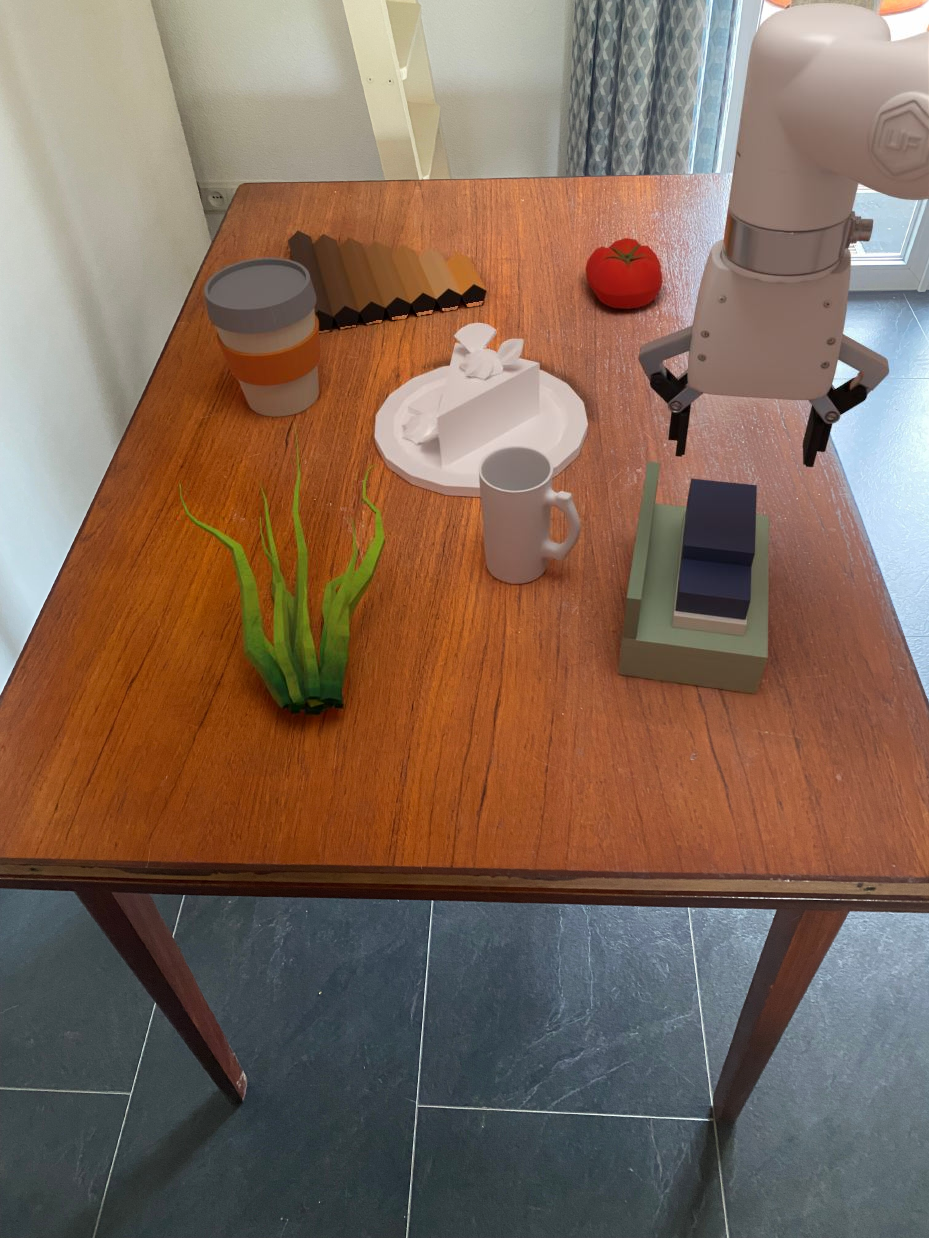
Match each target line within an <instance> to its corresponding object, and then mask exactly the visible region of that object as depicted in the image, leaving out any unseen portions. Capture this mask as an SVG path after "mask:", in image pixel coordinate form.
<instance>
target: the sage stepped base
mask: <svg viewBox="0 0 929 1238" xmlns="http://www.w3.org/2000/svg"><path fill="white" fill-rule="evenodd" d="M660 468H661V462H656V461H647V462H646V468H645V473H644V474H645V476H644V480H643V481H644V482H643V488H642V493H641V494H642V495H641V502H640V508H639V514H638V519H637V520H638V521H637V527H636V534H635V540H634V547H633V553H632V558H631V560H632V561H631V567H630V573H629V578H628V585H627V592H626V598H625V608H624V618H623V625H622V634H621V642H620V651H619V662H618V671H617V675H620V676H626V677H633V678H641V679H648V680H655V681H661V682H669V683H676V684H682V685H689V686H698V687H704V688H710V689H718V690H724V691H732V692H739V693H747V694H752V695H757V694H758V691H759V688H760V684H761V681H762V678H763V674H764V671H765V668H766V665H767V661H768V658H769V580H770V579H769V577H770V576H769V574H770V571H769V570H770V567H769V565H770V515H768V514H767V515H765V514H758V513H756V536H755V555H754V559H753V563H752V571H751V601H750V605H749V609H748V613H747V625H746V629H745V633H744V636H738V635H730V634H722V633H715V632H707V631H699V630H692V629H684V628H677V627H672V618H673V609H674V599H675V590H676V580H677V571H678V561H679V552H680V542H681V533H682V523H683V516H684V510H685V508H686V506H682V505H673V504H663V503H656V498H657V491H658V484H659V477H660Z"/></svg>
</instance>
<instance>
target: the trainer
mask: <svg viewBox="0 0 929 1238" xmlns="http://www.w3.org/2000/svg"><path fill="white" fill-rule="evenodd" d="M757 492H758V485H757V484H750V483H739V482H731V481H719V480H709V479H700V478H699V479H698V478H691V479H690V482H689V488H688V495H687V500H686V506H685V507H686V508H685V510H684V516H683V523H682V533H681V542H680V552H679V561H678V571H677V580H676V590H675V599H674V609H673V618H672V627H677V628H684V629H692V630H699V631H707V632H715V633H722V634H730V635H738V636H744V633H745V629H746V625H747V613H748V609H749V605H750V601H751V571H752V563H753V559H754V555H755V536H756V514H757V499H758V498H757V496H758V495H757Z"/></svg>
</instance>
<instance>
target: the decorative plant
mask: <svg viewBox="0 0 929 1238" xmlns="http://www.w3.org/2000/svg"><path fill="white" fill-rule="evenodd" d="M293 427H294V433H295V441H296V470H297V477H296V482H295V485H294V495H293V504H292V505H293V506H292V516H293V524H294V532H295V539H296V540H295V541H296V547H297V561H296V572H295V584H294V596H293V594H292V593H291V592H290V591H289V590H288V588H287V587H286V579H285V578H284V576H283V574H282V572H281V567H280V561H279V556H278V551H277V548H276V544H275V543H276V542H275V540H274V535H273V531H272V525H271V519H270V514H269V507H268V500H267V498H266V495H265V492H264V490H263V486H262V483H259V486H260V489H261V495H262V498H263V503H264V519H265V528H266V529H265V530H266V537H267V543H268V548H269V551H268V548H267V546H266V543H265V539H264V535H263V531H262V517H261V516H259V526H260V536H261V537H260V538H261V544H262V547H263V551H264V553H265V556H266V558H267V560H268V562H269V564H270V566H271V569H272V571H271V585H270V587H271V588H270V593H271V595H272V598H273V600H274V602H273V603H274V604H273V645H272V644H271V642H270V641H269V639H267V637H266V636H265V633H264V627H263V620H262V613H261V606H260V599H259V594H258V587H257V581H256V578H255V575H254V573H253V571H252V568H251V566H250V563H249V561H248V559H247V556H246V554H245V551H244V548H243V546H242V545H241V544H240V543H239V542H237V541H236V540H234V539H233V538H231V537H230V536H228V535H227V534H225V533H224V532H222V531H220V530H219V529H217V528H214V527H213V526H210V525H208V524H206V523H204V522H202V521H200V520H199V519H197V518H196V517H195V516H193V514H191V513H190V511H189V510H188V507H187V506H186V504H185V501H184V500H183V496H182V488H181V486H182V485H181V483H178V485H179V495H180V500H181V501H180V502H181V503H182V507H183V509H184V513H185V514H186V516H187V517H188V518H189V520H191V521H192V523H193V524H194V525H196V526H197V527H199V528H200V529H201V530H203V531H205V532H207V533H208V534H210V535H212V536H213V537H214V538H215V539H217V540H218V541H219V542H220V543H221V544H222V545H223V546H224V547H225V548H227V549H228V550H229V551H230V552H231V556H232V561H233V565H234V569H235V573H236V579H237V584H238V587H239V591H240V593H239V594H240V609H241V611H240V613H241V629H242V631H241V633H242V642H243V644H242V645H243V654H244V656H245V658H246V659H247V660H248V661H249V662H250V664H251V665H252V666H253V668H254V669H255V671H256V672H257V673H258V674H259V676H260V678H261V679H262V682H263V683H264V684H265V686H266V688H267V690H268V691H269V693H270V695H271V697H272V698H273V700H274V701H275V702H276V703H277V705H278V707H279V708H280V709H281V710H289V712H290V714H291V715H298V714H302V712H301V711H303V713H304V715H305V716H320V715H321V714H323V712H324V711H325V710H329V709H336V710H337V709H338V710H344V708H345V707H344V705H345V704H344V703H345V702H344V696H343V689H344V682H345V676H346V675H345V674H346V669H347V668H346V667H347V664H348V663H349V642H350V636H351V635H350V622H351V618H352V616H353V614H354V612H355V610H356V608H357V607H358V605H359V603H360V602H361V600H362V598H363V596H364V594H365V593H366V591H367V590H368V587H369V586H370V584H371V583H372V581H373V578H374V576H375V572H376V570H377V567H378V564H379V560H380V558H381V556H382V552H383V549H384V547H385V543H386V539H385V538H386V537H385V531H384V526H383V520H382V513H381V511H380V510H379V509H378V508H377V507H376V506H375V505H374V504H373V503H372V502H371V501H370V500H369V499H368V498H367V491H366V486H367V481H368V476H369V472H370V471H371V470H372V468H373V467H374V466H376V464H375V463H373V464H372V465H371V466H370V467H369V468H368V469H367V470H366V473H365V476H364V480H363V483H362V500H363V502H364V503H365V504H366V505H367V506H368V507H369V509H370V510H371V511H372V512H373V513H374V515H375V526H374V527H375V531H374V538H373V539H372V542H371V536H369V537H368V542H367V547H366V553H365V555H364V557H363V560H362V562H361V563H360V565H359V567H358V568H357V569H356V570H355V567H356V562H357V558H358V547H357V538H356V537H357V535H356V531H355V526H354V521H353V517H350V520H351V526H352V527H351V528H352V556H351V558H350V560H349V563H348V566H347V568H346V569H345V570H346V571H345V572H344V573H342V574H340V575H337V577H335V578H333V579H331V580H330V581H328V582H326V584H325V587H324V594H323V599H322V604H321V613H322V617H323V627H322V631H321V638H320V644H319V649H318V650H319V657H318V654H317V650H316V646H315V642H314V639H313V634H312V631H311V627H310V626H311V625H310V616H309V606H308V581H309V580H308V579H309V576H308V575H309V552H308V548H307V544H306V543H307V542H306V539H305V535H304V531H303V526H302V523H301V518H300V514H299V513H300V490H301V489H300V488H301V469H300V459H299V444H298V436H297V429H296V423H295V422H293ZM370 542H371V544H370ZM338 587H339V589H338V590H337V592H336V589H337V588H338Z"/></svg>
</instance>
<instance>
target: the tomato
mask: <svg viewBox="0 0 929 1238" xmlns="http://www.w3.org/2000/svg"><path fill="white" fill-rule="evenodd" d="M584 269H585V270H584V271H585V276H586V281H587V284H588V285H589V287H590V289H592V290H593V291H594V293H595V295H596V298H597V299H598V300H599V301H600V302H601V303H602V304H604V305H606V306H607V307H611V308H613V309H624V310H625V309H626V310H631V309H630V308H635V309H638V308H641V306H642V307H644V306H646V305H649V304H650V303H651V302H652V301H654V300H655V299H656V297H657V296H658V295H659V292H661V289H662V285H663V273H662V266H661V263H660V259H659V258H658V256H657V254H656V253H655V251H654V250H653V249H652V248H651V247H650V246H649V245H642V243H639V241H638V240H637V239H634V238H629V237H625V238H620V239H618V240H615V241H614V242H612V244H610V245H609V246H608V247H606V246H600V247H598V248H595V249H594V251H593V252H592V253H591V254H590V256H589V258H588V259H587V261H586V265H585V268H584ZM637 307H638V308H637Z"/></svg>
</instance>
